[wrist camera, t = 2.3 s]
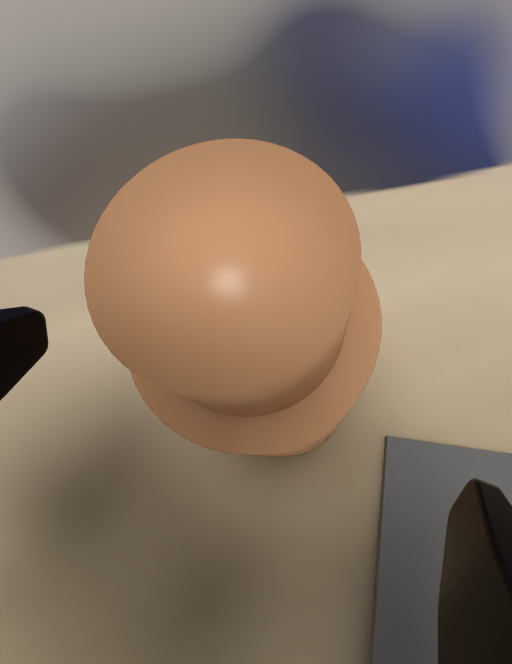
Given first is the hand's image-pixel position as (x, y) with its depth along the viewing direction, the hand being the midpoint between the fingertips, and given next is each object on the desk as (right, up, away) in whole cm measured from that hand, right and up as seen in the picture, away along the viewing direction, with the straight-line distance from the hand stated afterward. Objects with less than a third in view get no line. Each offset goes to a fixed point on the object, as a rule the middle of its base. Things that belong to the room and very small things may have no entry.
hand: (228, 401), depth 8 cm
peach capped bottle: (+2, -1, +9) cm, 9 cm away
